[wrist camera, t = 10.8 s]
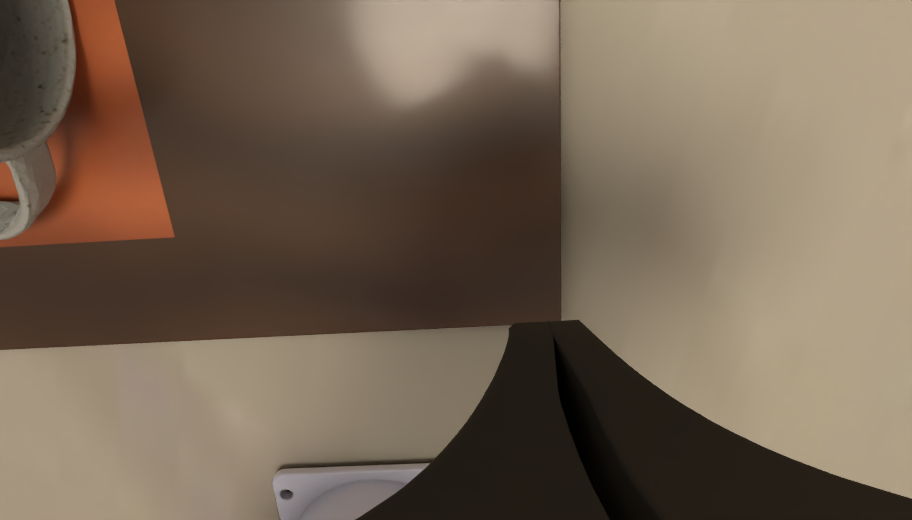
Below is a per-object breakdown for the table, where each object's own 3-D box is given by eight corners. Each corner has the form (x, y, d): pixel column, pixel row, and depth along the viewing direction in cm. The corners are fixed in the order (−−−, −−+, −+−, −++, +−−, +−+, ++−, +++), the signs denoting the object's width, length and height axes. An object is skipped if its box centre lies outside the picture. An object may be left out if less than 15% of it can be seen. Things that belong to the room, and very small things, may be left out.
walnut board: (559, 318, 22) (560, 323, 22) (-107, 351, 23) (-115, 355, 23) (558, -183, 16) (559, -186, 16) (-326, -106, 17) (-339, -108, 17)
